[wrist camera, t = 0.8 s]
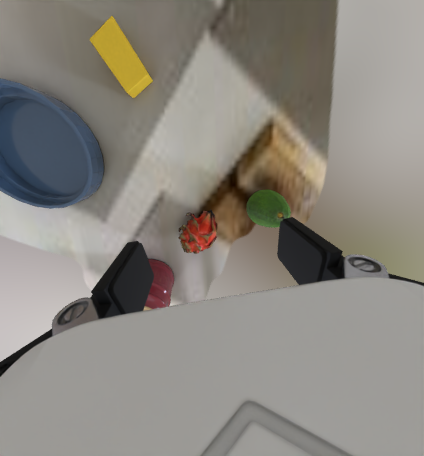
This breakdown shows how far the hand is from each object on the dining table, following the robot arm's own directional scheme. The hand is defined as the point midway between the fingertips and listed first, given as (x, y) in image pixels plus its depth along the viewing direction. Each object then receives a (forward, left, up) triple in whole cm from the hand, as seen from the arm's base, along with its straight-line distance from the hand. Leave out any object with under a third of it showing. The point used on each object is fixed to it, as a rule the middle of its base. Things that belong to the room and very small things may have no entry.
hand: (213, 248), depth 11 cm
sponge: (-19, -11, -27) cm, 35 cm away
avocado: (+6, +13, -27) cm, 31 cm away
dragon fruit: (+11, -2, -28) cm, 30 cm away
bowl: (-7, -29, -27) cm, 40 cm away
